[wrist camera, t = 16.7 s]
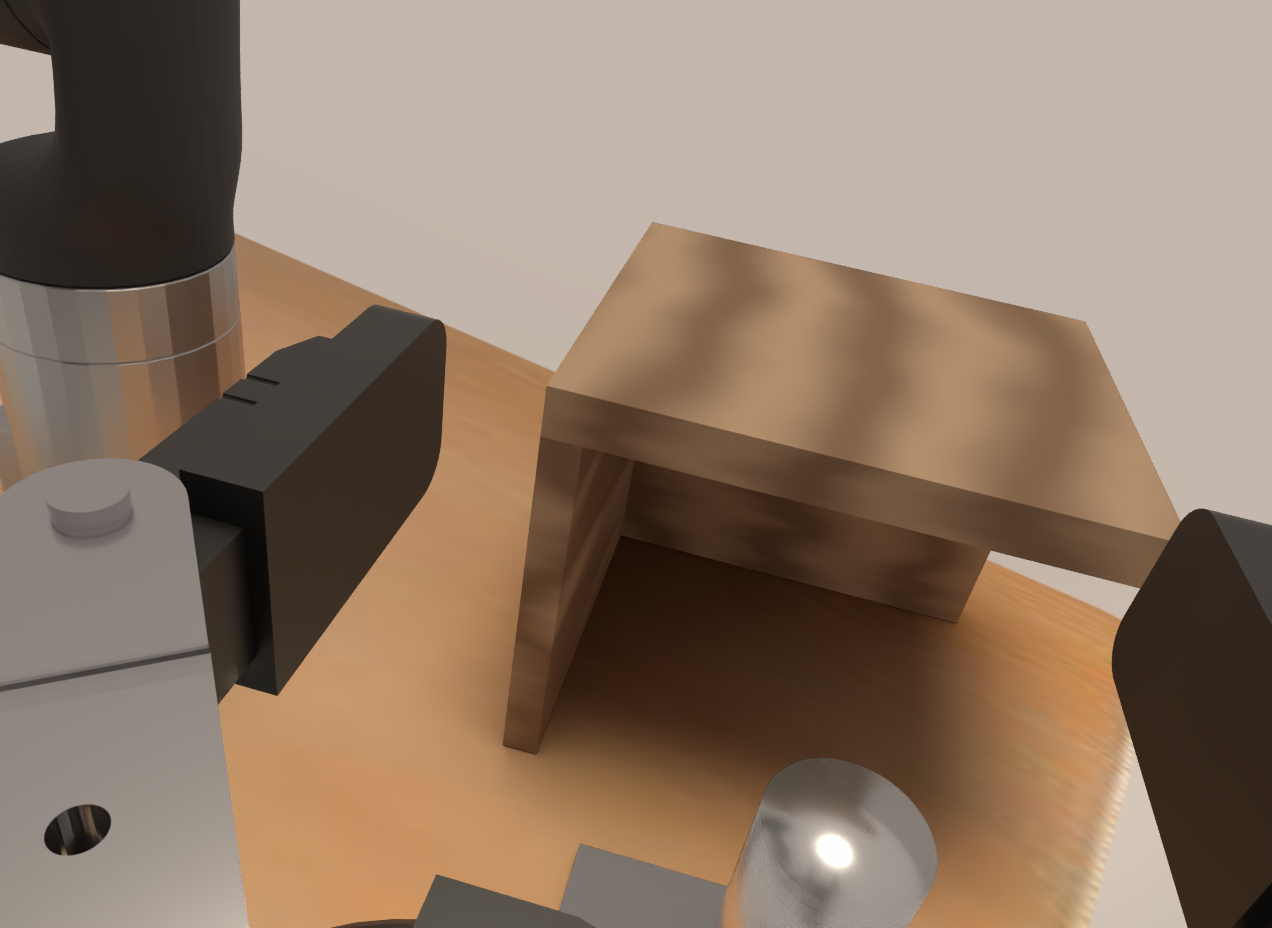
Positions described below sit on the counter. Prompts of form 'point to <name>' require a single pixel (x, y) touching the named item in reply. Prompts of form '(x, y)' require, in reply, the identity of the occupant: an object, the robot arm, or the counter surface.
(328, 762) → the counter surface
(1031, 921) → the counter surface
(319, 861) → the counter surface
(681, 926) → the rubber mat
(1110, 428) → the walnut desk
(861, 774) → the steel tin
